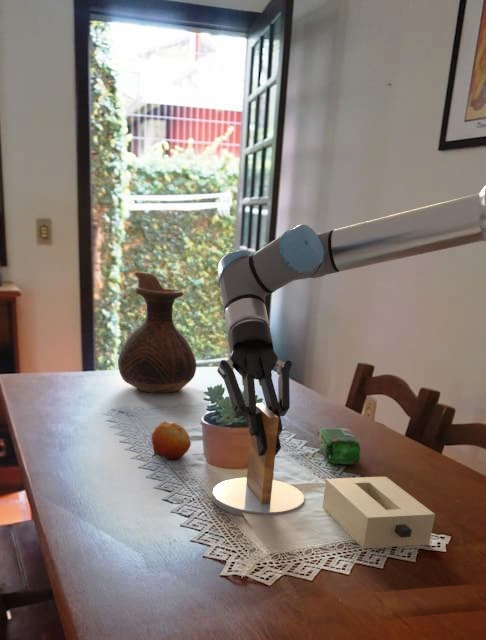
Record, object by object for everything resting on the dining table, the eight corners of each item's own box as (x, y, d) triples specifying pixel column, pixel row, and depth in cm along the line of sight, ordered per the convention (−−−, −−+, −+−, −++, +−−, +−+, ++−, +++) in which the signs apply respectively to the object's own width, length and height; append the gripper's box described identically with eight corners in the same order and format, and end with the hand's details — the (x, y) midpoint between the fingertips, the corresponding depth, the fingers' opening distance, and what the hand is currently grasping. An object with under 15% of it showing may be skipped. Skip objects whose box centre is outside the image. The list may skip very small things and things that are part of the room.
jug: (203, 383, 199) (208, 276, 188) (184, 400, 180) (189, 282, 168) (132, 376, 204) (133, 270, 192) (106, 392, 184) (106, 276, 173)
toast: (254, 483, 123) (261, 402, 117) (270, 503, 115) (279, 417, 109) (246, 484, 123) (253, 402, 117) (261, 503, 115) (269, 417, 109)
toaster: (380, 508, 119) (385, 476, 117) (435, 555, 103) (442, 519, 101) (321, 511, 116) (325, 478, 114) (368, 560, 100) (374, 523, 98)
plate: (285, 481, 128) (286, 475, 128) (317, 516, 114) (318, 510, 114) (203, 485, 125) (203, 478, 124) (225, 521, 111) (225, 514, 110)
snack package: (346, 446, 151) (349, 423, 149) (361, 470, 137) (364, 445, 135) (314, 444, 151) (317, 421, 149) (326, 468, 136) (328, 443, 135)
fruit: (148, 440, 143) (168, 410, 139) (179, 462, 143) (200, 433, 140) (137, 452, 135) (158, 421, 132) (169, 475, 136) (191, 445, 132)
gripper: (281, 344, 126) (304, 460, 117) (204, 343, 122) (221, 462, 114) (294, 319, 119) (319, 440, 110) (212, 317, 115) (232, 442, 107)
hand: (269, 451), depth 112 cm, fingers closed on toast, 2 cm apart
